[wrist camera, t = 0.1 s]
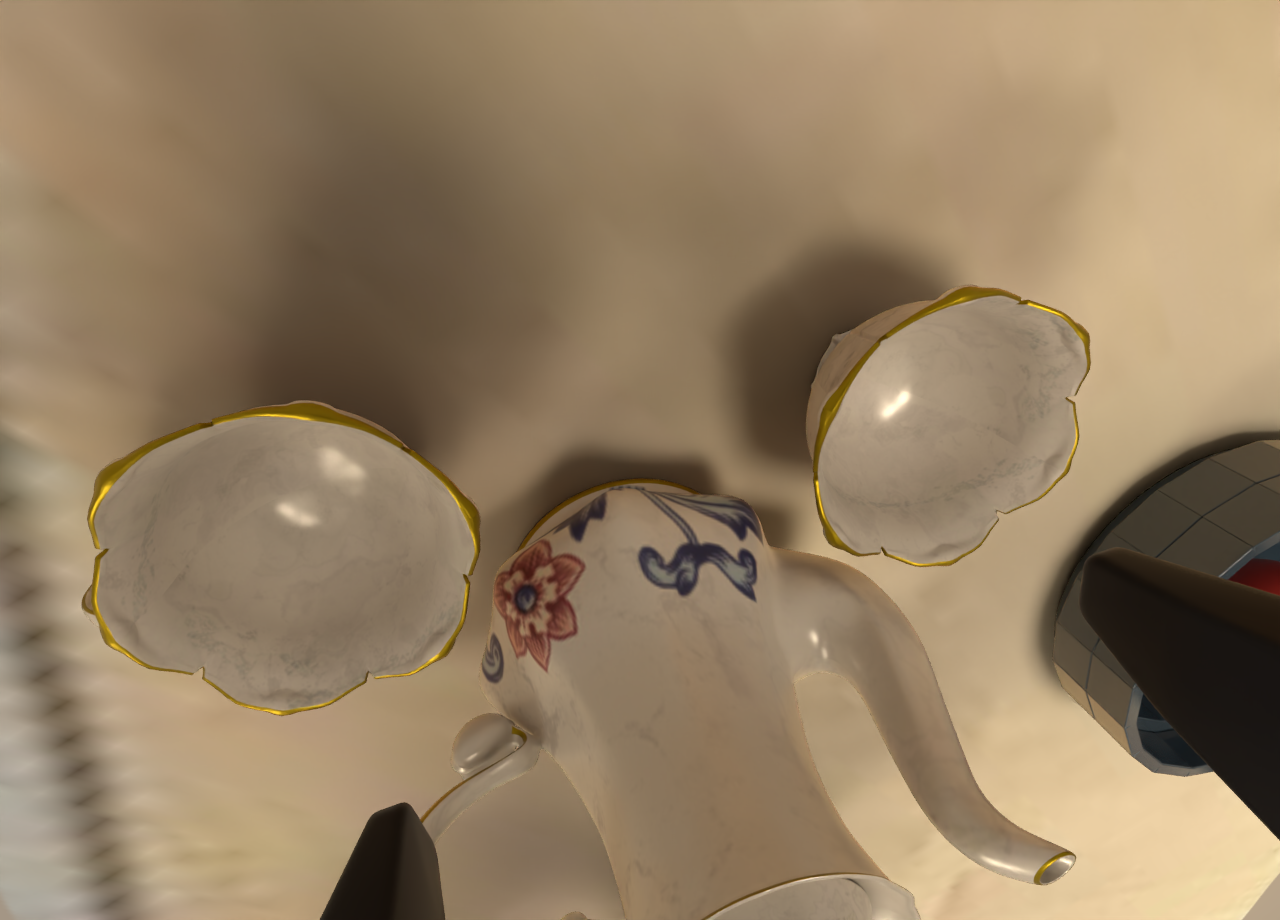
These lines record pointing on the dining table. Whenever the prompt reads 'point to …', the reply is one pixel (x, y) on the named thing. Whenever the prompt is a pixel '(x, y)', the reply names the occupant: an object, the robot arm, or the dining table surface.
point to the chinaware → (626, 606)
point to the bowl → (1181, 534)
